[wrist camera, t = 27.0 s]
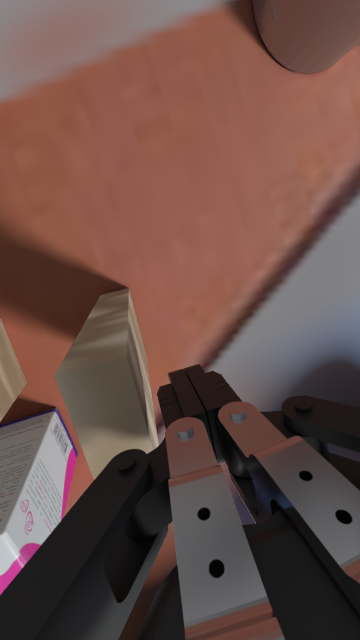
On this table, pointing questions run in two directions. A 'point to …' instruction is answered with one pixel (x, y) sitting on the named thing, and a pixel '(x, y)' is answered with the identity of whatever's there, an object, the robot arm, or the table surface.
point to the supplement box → (32, 486)
